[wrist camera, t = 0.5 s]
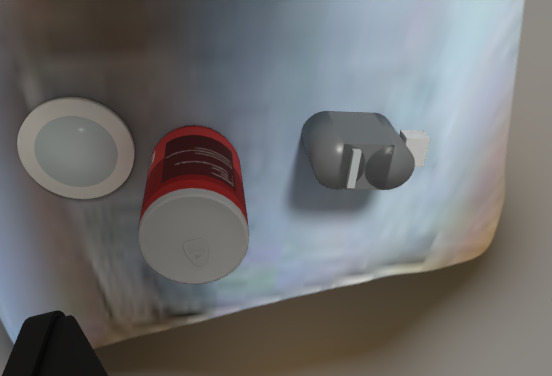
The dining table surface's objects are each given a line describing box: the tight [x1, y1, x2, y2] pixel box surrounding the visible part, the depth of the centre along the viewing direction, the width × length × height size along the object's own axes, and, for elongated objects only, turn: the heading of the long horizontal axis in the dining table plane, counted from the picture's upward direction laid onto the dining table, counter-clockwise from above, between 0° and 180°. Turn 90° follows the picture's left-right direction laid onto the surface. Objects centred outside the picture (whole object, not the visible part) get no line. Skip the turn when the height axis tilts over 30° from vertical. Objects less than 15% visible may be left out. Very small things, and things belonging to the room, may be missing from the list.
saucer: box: [17, 97, 135, 199], centre depth 43 cm, size 9×9×1 cm
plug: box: [302, 111, 430, 190], centre depth 43 cm, size 10×4×6 cm, turn 85°
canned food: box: [138, 125, 249, 284], centre depth 41 cm, size 8×8×11 cm
